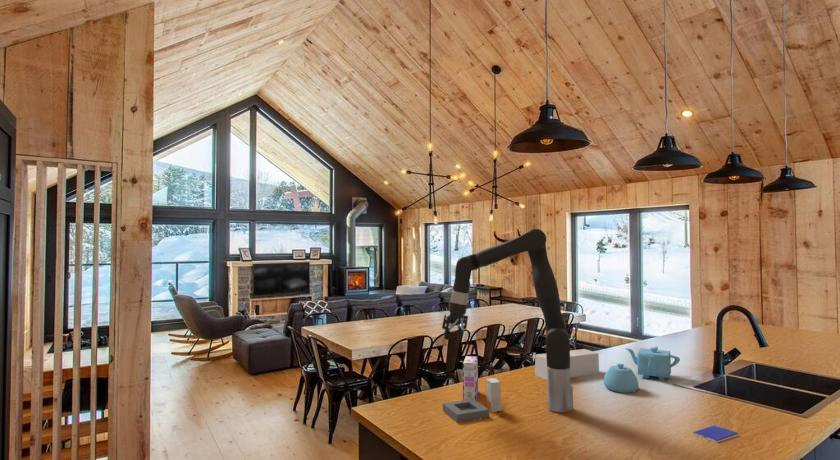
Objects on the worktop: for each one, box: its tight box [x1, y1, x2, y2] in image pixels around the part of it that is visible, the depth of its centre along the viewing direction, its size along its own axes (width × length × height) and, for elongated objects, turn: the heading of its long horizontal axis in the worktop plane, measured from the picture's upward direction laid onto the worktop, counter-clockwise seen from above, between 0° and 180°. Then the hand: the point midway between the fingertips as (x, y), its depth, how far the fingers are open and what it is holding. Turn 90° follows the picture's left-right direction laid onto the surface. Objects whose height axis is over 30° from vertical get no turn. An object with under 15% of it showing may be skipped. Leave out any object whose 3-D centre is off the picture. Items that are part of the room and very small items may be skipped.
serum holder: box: [442, 399, 490, 423], centre depth 185 cm, size 14×14×3 cm
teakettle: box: [624, 346, 681, 382], centre depth 233 cm, size 19×19×15 cm
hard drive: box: [692, 424, 739, 444], centre depth 161 cm, size 2×8×12 cm
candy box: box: [462, 355, 479, 401], centre depth 207 cm, size 14×6×16 cm, turn 168°
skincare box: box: [486, 377, 502, 413], centre depth 190 cm, size 6×4×12 cm
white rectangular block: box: [534, 348, 600, 381], centre depth 240 cm, size 32×11×11 cm, turn 111°
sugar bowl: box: [603, 362, 639, 394], centre depth 214 cm, size 15×15×12 cm
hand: (452, 339), depth 199 cm, fingers open, 8 cm apart
